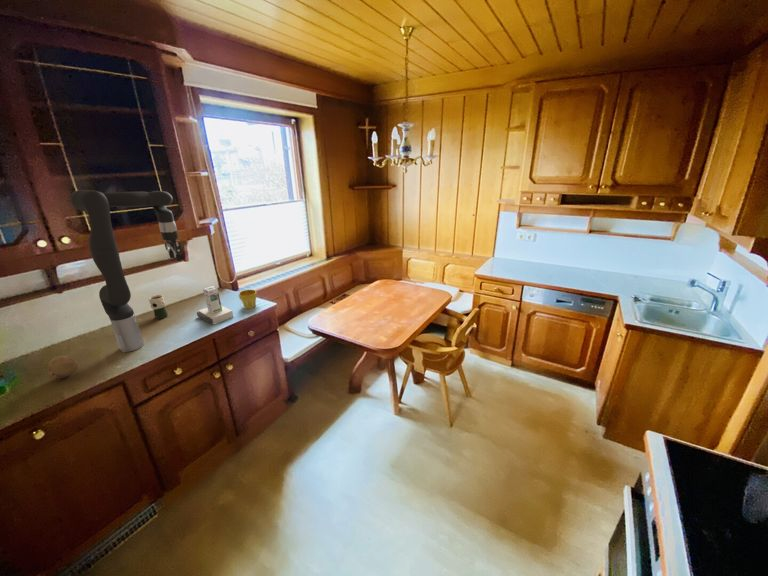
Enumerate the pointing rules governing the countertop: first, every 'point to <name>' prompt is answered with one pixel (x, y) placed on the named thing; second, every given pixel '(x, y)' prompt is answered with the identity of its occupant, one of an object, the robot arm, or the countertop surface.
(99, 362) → the countertop surface
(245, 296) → the plant pot
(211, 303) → the syrup box
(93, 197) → the robot arm
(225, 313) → the dock
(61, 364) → the natural sponge
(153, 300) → the character mug
